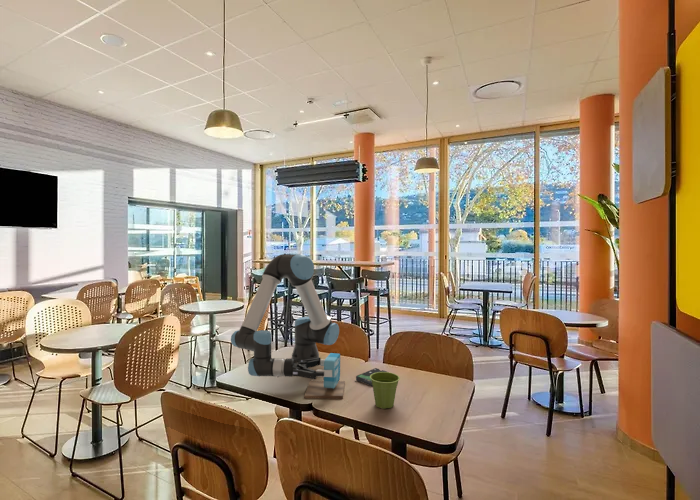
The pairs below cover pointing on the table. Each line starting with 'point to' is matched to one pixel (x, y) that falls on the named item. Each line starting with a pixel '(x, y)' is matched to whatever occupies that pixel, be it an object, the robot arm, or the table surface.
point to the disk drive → (367, 376)
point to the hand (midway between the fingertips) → (333, 368)
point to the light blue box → (332, 364)
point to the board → (324, 390)
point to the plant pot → (384, 388)
